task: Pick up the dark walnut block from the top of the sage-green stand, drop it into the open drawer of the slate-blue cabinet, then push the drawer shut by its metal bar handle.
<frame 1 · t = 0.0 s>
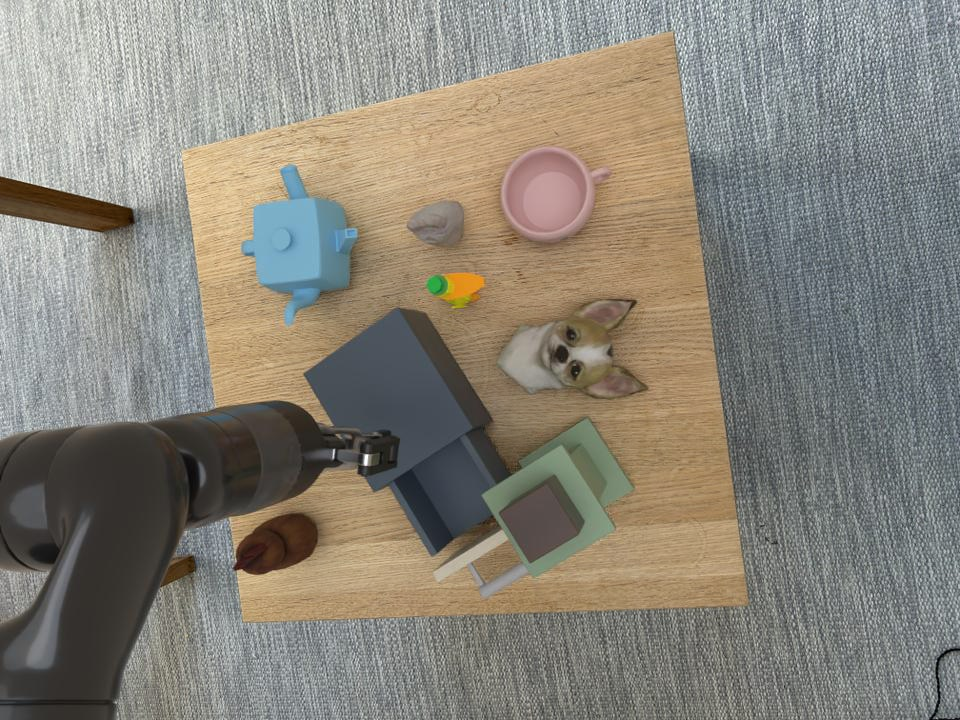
hand: (343, 434, 70), 19 cm above the table, tool pointing down, fingers open, 8 cm apart
stand: (576, 473, 84), on the table
teapot: (327, 253, 91), on the table
cabinet: (415, 395, 88), on the table
toy figure: (472, 293, 87), on the table
block: (547, 512, 62), point 22 cm above the table, touching stand
fossil: (454, 233, 87), on the table
drawer: (468, 508, 82), point 5 cm above the table, slide at 10.0 cm
wooden figurine: (301, 532, 92), on the table
mug: (561, 199, 84), on the table
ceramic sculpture: (575, 353, 84), on the table
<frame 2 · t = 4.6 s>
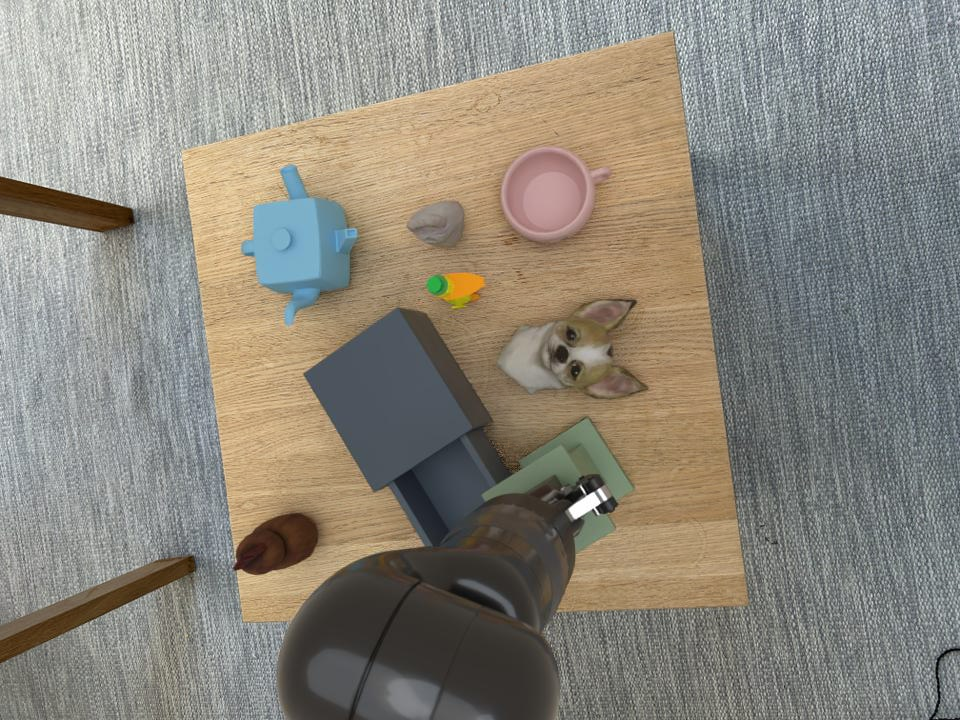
hand: (546, 512, 62), 22 cm above the table, tool pointing down, fingers closed on block, 4 cm apart
block: (547, 512, 62), point 22 cm above the table, touching gripper, stand
everything else where it was.
when the fingers open (8 cm above the table, at t = 11.3 s): block drops 6 cm, resting on drawer.
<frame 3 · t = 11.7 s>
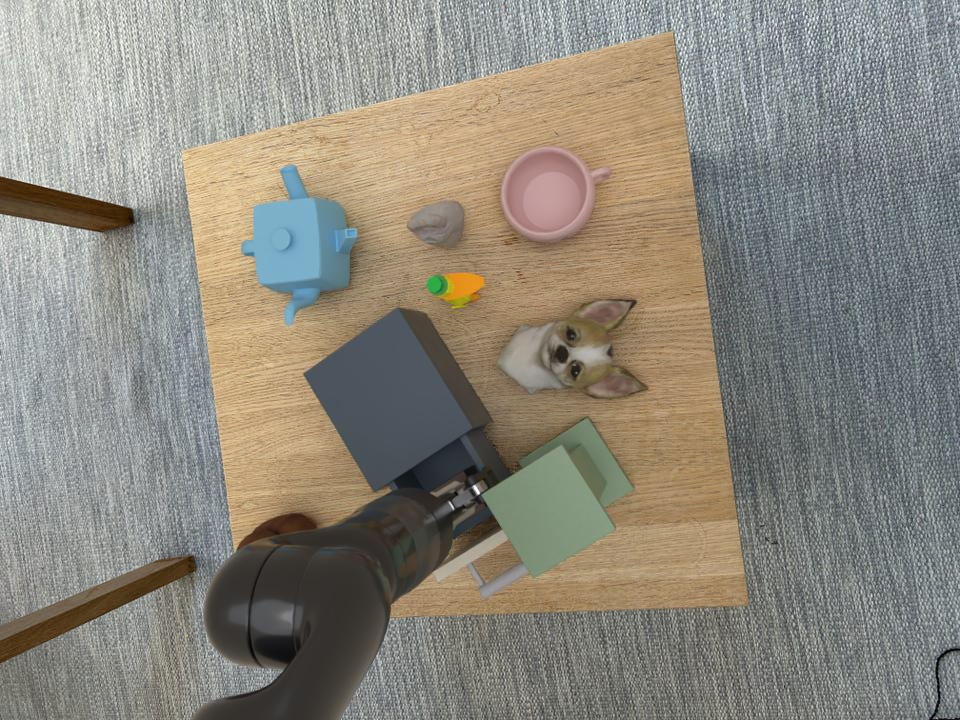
hand: (449, 505, 77), 10 cm above the table, tool pointing down, fingers open, 8 cm apart
block: (467, 492, 85), point 2 cm above the table, touching drawer
drawer: (468, 508, 82), point 5 cm above the table, slide at 10.0 cm, touching block
everything else where it was.
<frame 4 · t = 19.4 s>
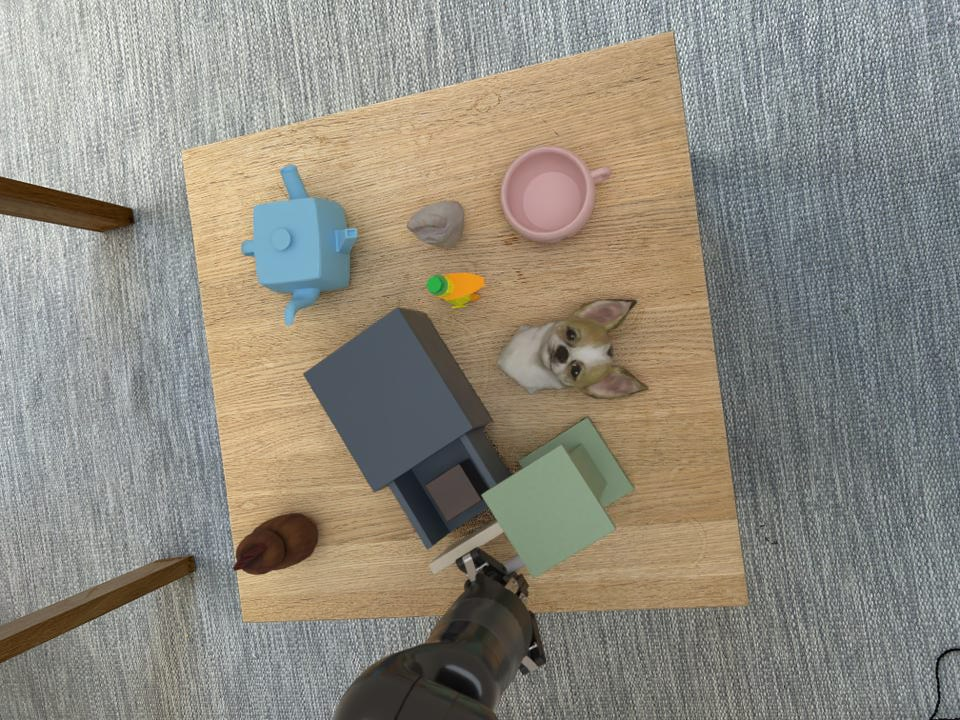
hand: (517, 583, 80), 5 cm above the table, tool pointing down, fingers closed
drawer: (464, 501, 82), point 5 cm above the table, slide at 9.1 cm, touching block, gripper
everything else where it was.
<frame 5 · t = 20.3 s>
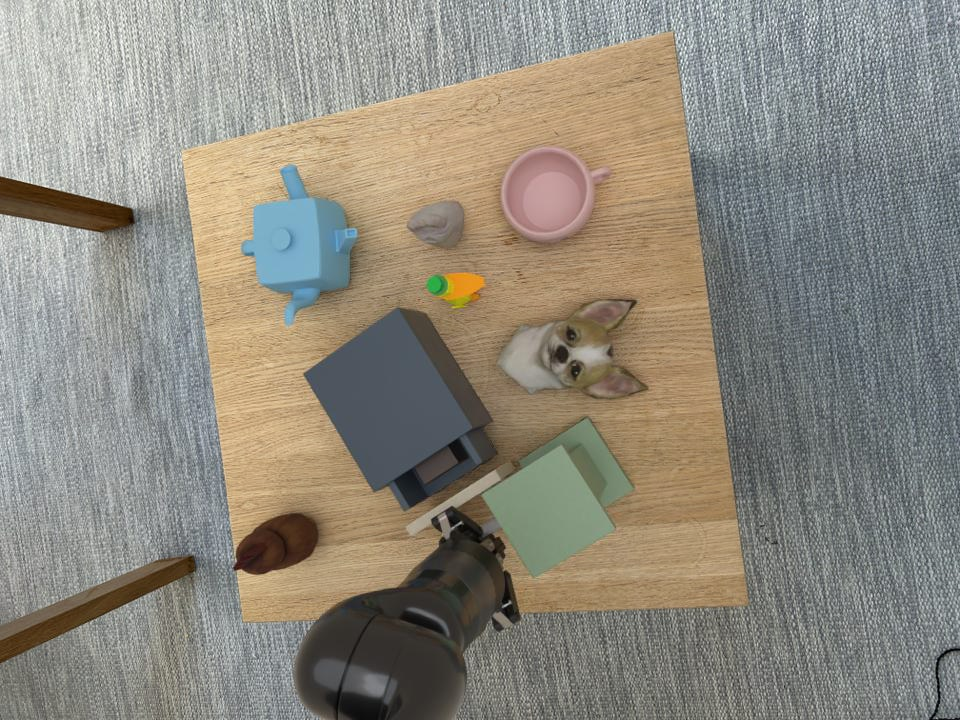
hand: (495, 546, 81), 5 cm above the table, tool pointing down, fingers closed
block: (442, 451, 85), point 2 cm above the table, touching drawer
drawer: (442, 465, 82), point 5 cm above the table, slide at 4.6 cm, touching block, gripper
everything else where it was.
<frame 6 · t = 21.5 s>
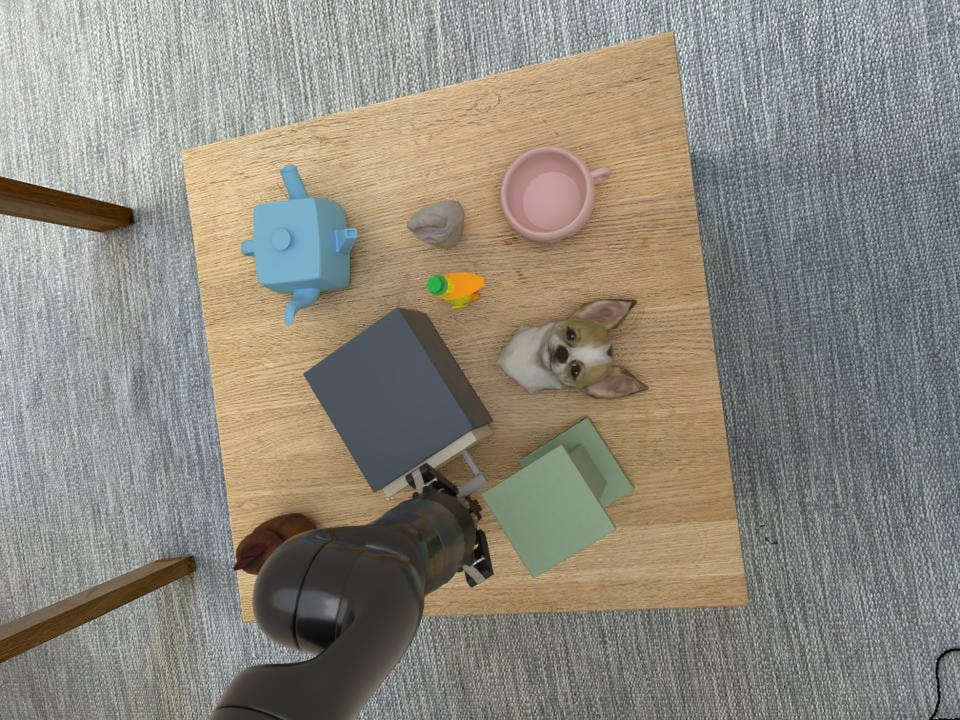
hand: (472, 508, 82), 5 cm above the table, tool pointing down, fingers closed
block: (420, 415, 86), point 2 cm above the table, touching drawer
drawer: (419, 428, 83), point 5 cm above the table, slide at 0.0 cm, touching block, cabinet, gripper
everything else where it was.
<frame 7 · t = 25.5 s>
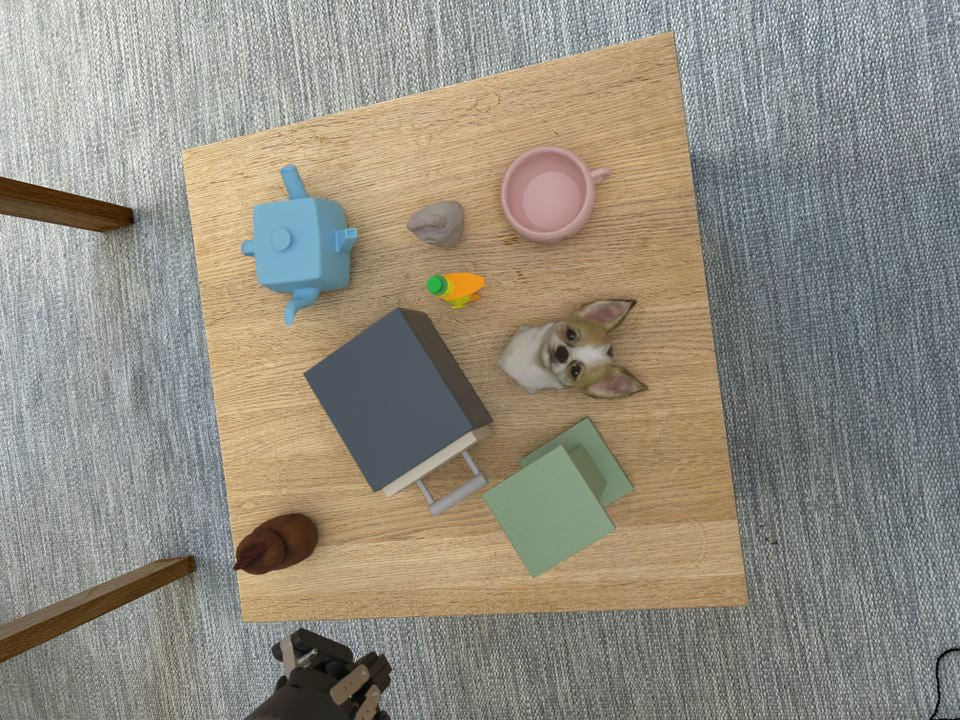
hand: (378, 666, 60), 27 cm above the table, tool pointing down, fingers closed
drawer: (419, 428, 83), point 5 cm above the table, slide at 0.0 cm, touching block
everything else where it was.
at the end: block inside the target area in the cabinet (2.5 cm from its centre), point 2.0 cm above the cabinet's base; drawer slide at 0.0 cm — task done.
